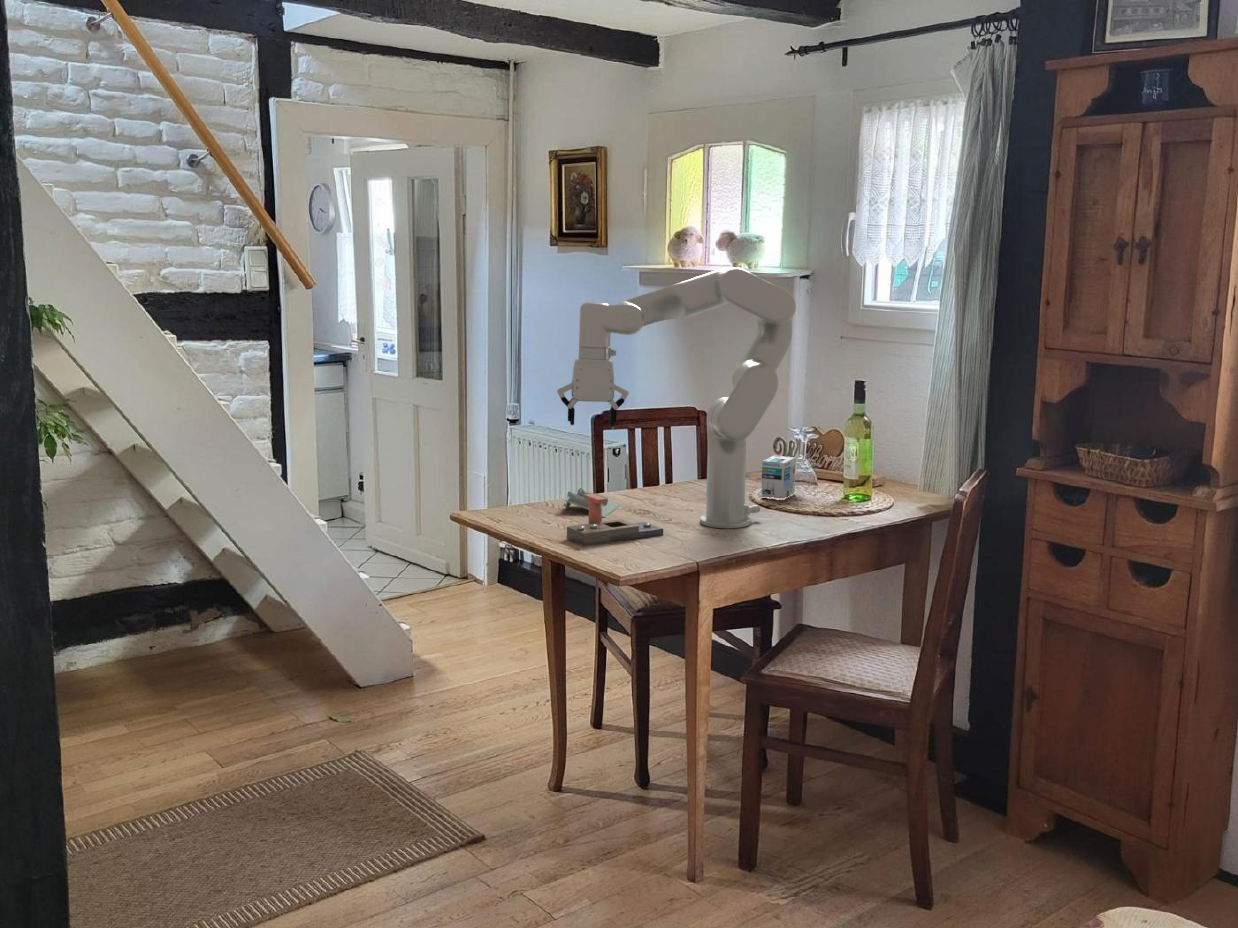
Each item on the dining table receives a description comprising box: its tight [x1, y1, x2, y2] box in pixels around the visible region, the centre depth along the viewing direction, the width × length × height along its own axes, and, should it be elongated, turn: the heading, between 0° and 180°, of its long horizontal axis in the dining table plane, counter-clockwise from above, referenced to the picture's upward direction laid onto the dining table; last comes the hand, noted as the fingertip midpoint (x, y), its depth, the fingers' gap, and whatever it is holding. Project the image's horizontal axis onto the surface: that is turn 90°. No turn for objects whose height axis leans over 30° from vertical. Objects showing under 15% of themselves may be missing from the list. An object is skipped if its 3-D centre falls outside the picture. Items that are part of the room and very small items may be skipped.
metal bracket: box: [563, 487, 622, 519], centre depth 297 cm, size 14×6×15 cm
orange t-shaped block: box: [584, 494, 607, 524], centre depth 277 cm, size 3×7×8 cm, turn 32°
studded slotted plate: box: [566, 518, 664, 547], centre depth 269 cm, size 22×8×4 cm, turn 122°
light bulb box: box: [760, 454, 797, 498], centre depth 315 cm, size 11×7×11 cm, turn 154°
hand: (591, 424), depth 276 cm, fingers open, 9 cm apart
